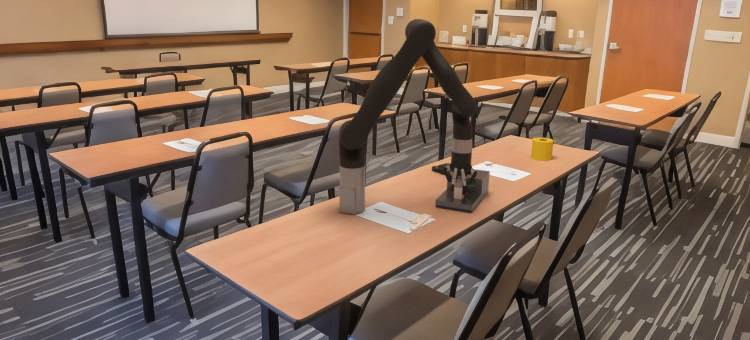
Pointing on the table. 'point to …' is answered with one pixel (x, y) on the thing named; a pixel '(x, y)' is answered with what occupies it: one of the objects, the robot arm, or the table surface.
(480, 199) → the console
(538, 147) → the tape roll
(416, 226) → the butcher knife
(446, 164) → the disk drive
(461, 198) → the plug
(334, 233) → the table surface
